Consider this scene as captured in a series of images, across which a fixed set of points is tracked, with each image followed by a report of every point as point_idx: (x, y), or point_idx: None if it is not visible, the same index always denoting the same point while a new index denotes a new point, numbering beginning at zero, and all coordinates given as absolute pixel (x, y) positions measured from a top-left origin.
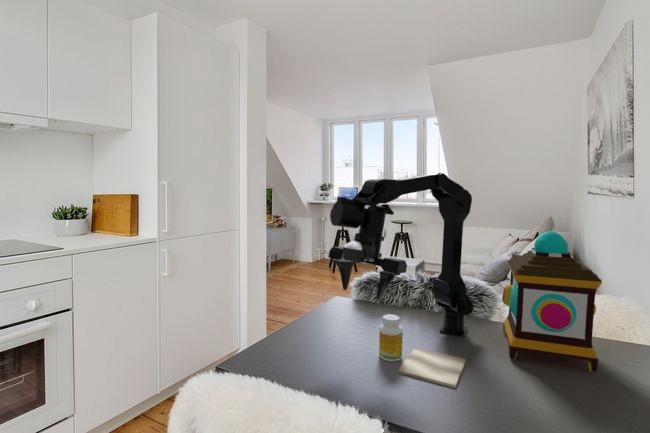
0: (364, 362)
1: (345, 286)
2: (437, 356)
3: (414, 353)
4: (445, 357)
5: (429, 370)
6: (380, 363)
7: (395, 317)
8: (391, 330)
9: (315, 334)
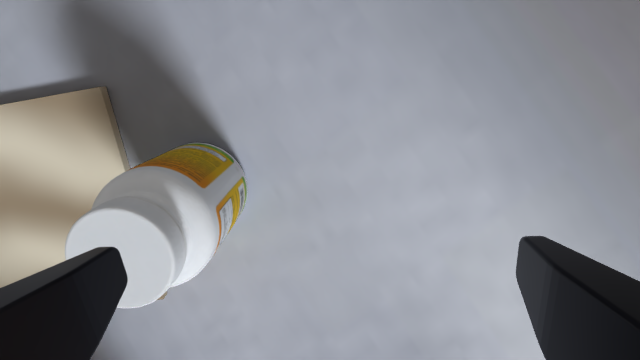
0: (253, 75)
1: (536, 267)
2: None
3: None
4: None
5: (18, 164)
6: (200, 111)
7: None
8: (111, 187)
9: (593, 164)
